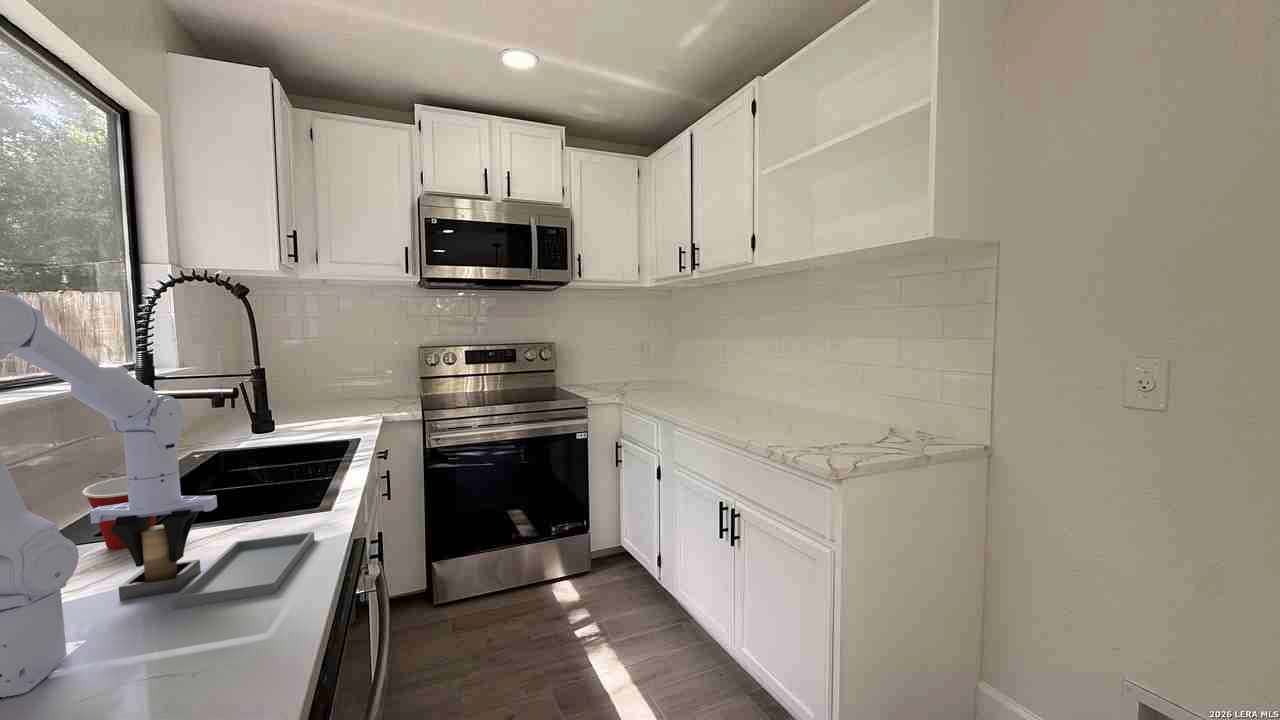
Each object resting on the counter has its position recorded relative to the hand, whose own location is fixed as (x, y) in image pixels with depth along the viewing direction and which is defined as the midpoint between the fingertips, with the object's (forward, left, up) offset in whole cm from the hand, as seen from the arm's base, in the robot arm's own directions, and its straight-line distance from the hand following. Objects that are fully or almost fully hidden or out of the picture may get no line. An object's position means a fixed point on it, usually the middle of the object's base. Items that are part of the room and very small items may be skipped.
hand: (160, 561), depth 77 cm
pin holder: (0, 0, -4) cm, 4 cm away
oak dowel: (0, 0, -3) cm, 3 cm away
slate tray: (+1, -12, -4) cm, 12 cm away
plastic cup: (+22, +15, -5) cm, 27 cm away
